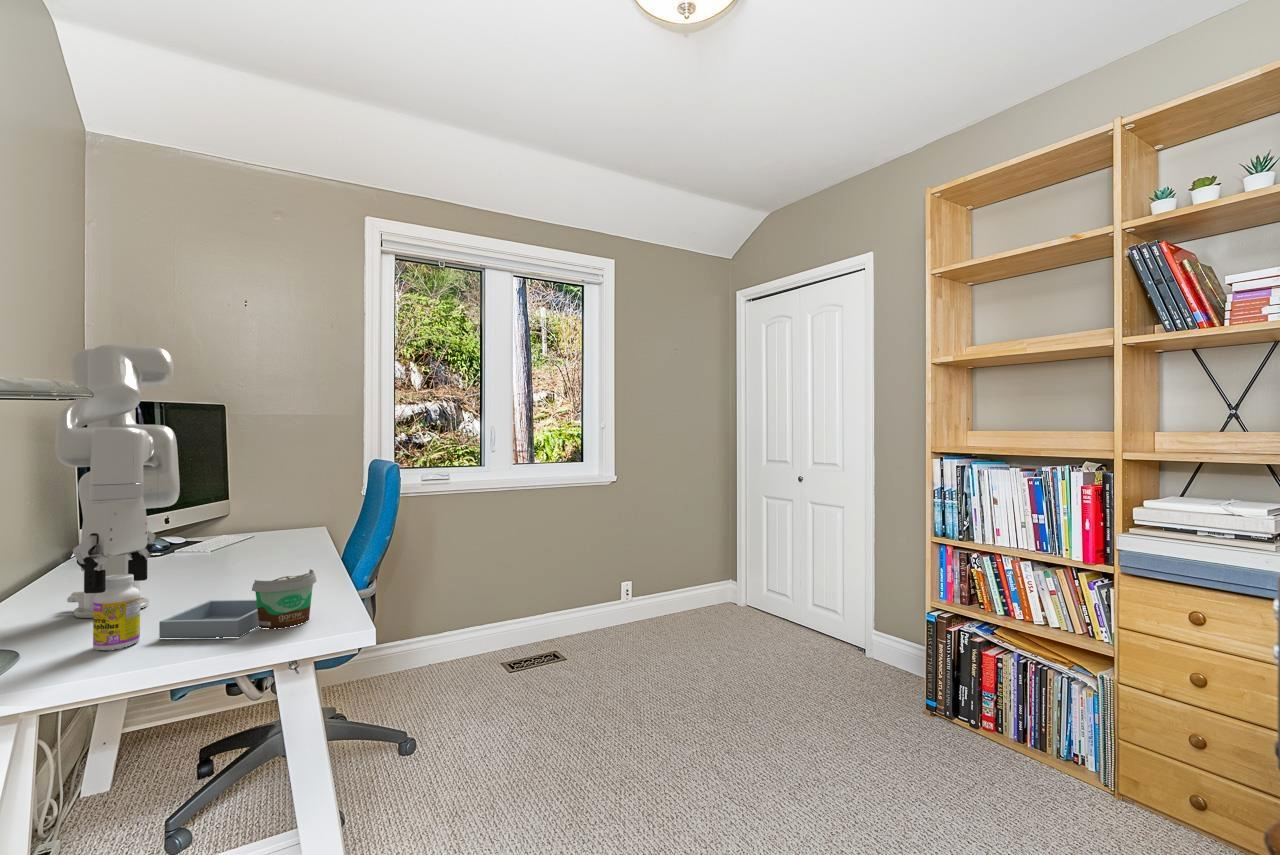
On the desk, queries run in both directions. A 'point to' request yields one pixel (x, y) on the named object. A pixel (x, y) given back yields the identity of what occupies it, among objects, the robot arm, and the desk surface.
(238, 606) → the tray
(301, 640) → the desk surface
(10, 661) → the desk surface
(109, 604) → the supplement bottle
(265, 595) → the food container
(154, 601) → the desk surface
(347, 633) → the desk surface
